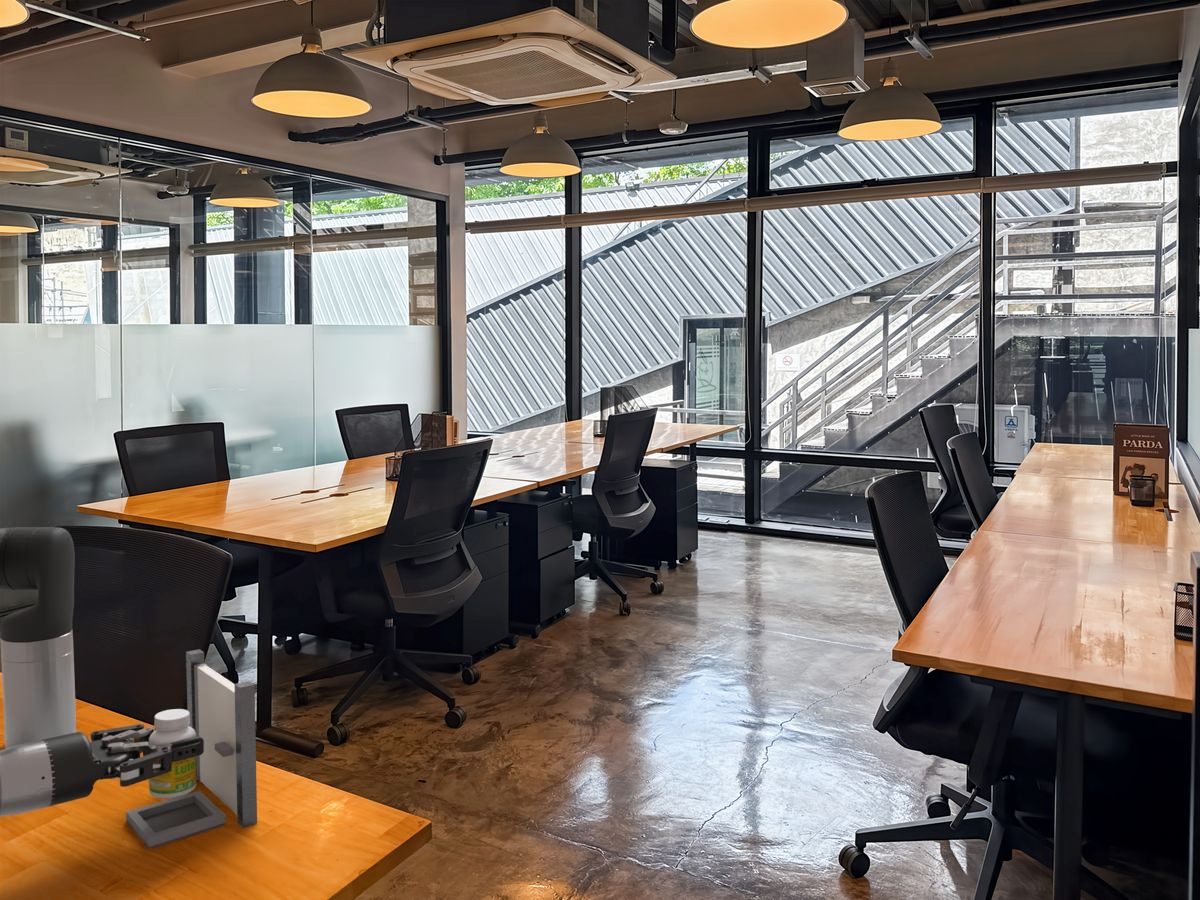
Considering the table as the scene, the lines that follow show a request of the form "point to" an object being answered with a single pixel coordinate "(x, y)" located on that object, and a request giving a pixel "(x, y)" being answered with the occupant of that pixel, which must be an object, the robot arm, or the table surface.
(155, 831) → the shallow tray
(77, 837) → the table surface
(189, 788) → the supplement bottle
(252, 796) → the door frame
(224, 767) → the door
